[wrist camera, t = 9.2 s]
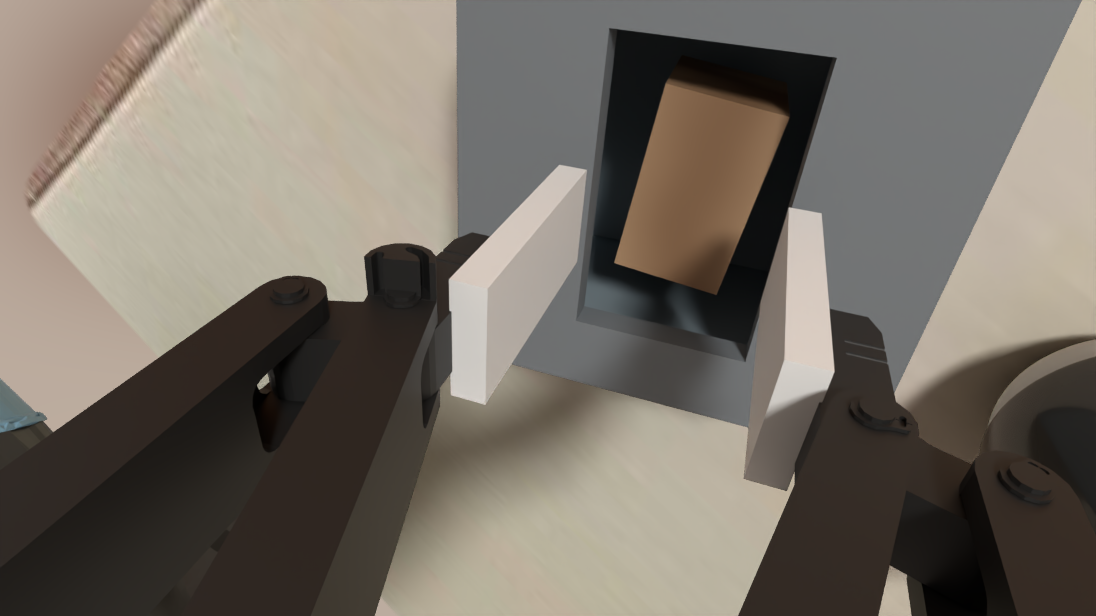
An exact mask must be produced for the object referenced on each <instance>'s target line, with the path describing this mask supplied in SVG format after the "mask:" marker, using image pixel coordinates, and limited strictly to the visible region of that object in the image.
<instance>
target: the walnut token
mask: <svg viewBox="0 0 1096 616" xmlns="http://www.w3.org/2000/svg"><path fill="white" fill-rule="evenodd" d="M789 118H790V114H789V102H788V91H787V83H786V82H782V81H778V80H775V79H771V78H767V77H763V76H760V75H756V74H752V73H748V72H744V71H741V70H737V69H733V68H729V67H725V66H722V65H718V64H714V63H710V62H707V61H703V60H699V59H695V58H691V57H688V56H684V55H682V56H681V57H680V59H679V61H678V63H677V64H676V66H675V68H674V70H673V71H672V73H671V75H670V77H669V79H668V80H667V82H666V84H665V88H664V91H663V95H662V98H661V102H660V105H659V108H658V112H657V115H656V119H655V122H654V126H653V129H652V133H651V136H650V140H649V143H648V147H647V150H646V154H645V157H644V161H643V164H642V168H641V171H640V175H639V178H638V182H637V185H636V189H635V192H634V196H633V199H632V203H631V206H630V209H629V213H628V216H627V220H626V223H625V227H624V230H623V234H622V237H621V241H620V244H619V248H618V251H617V255H616V258H615V262H614V263H616V264H619V265H622V266H625V267H628V268H632V269H635V270H638V271H641V272H644V273H648V274H651V275H654V276H657V277H660V278H664V279H667V280H670V281H673V282H676V283H680V284H683V285H686V286H689V287H692V288H696V289H699V290H702V291H705V292H708V293H711V294H715V295H717V292H718V290H719V287H720V285H721V283H722V280H723V278H724V275H725V273H726V270H727V268H728V266H729V263H730V261H731V258H732V256H733V254H734V251H735V249H736V246H737V244H738V241H739V239H740V237H741V234H742V232H743V229H744V227H745V224H746V222H747V220H748V217H749V215H750V212H751V210H752V208H753V205H754V203H755V200H756V198H757V195H758V193H759V191H760V188H761V186H762V183H763V181H764V178H765V176H766V174H767V171H768V169H769V166H770V164H771V161H772V159H773V157H774V154H775V152H776V149H777V147H778V145H779V142H780V140H781V137H782V135H783V132H784V130H785V128H786V125H787V123H788V120H789Z"/></svg>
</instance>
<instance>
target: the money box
mask: <svg viewBox="0 0 1096 616" xmlns="http://www.w3.org/2000/svg"><path fill="white" fill-rule="evenodd" d="M1081 1H1082V0H456V7H457V137H458V238H459V237H462V236H464V235H467V234H469V233H471V232H473V233H478V234H482V235H487V236H491V235H492V234H493V233H494V232H495V231H496V230H497V229H498V228H499V227H500V226H501V225H502V224H503V223H504V222H505V221H506V220H507V219H508V217H509V216H510V215H511V214H512V213H513V212H514V211H515V210H516V209H517V208H518V207H519V206H520V205H521V204H522V203H523V202H524V201H525V200H526V199H527V198H528V197H529V196H530V195H531V194H532V193H533V192H534V191H535V189H536V188H537V187H538V186H539V185H540V184H541V183H542V182H543V181H544V180H545V179H546V178H547V177H548V176H549V175H550V174H551V173H552V172H553V171H554V170H555V169H556V168H557V167H558V166H559V165H564V166H569V167H574V168H580V169H585V170H587V174H586V184H585V193H584V202H583V212H582V221H581V230H580V239H579V249H578V258H577V263H576V264H575V266H574V267H573V269H572V270H571V272H570V273H569V275H568V277H567V278H566V280H565V281H564V283H563V284H562V286H561V288H560V289H559V291H558V292H557V294H556V295H555V297H554V298H553V300H552V302H551V303H550V305H549V306H548V308H547V309H546V311H545V312H544V314H543V316H542V317H541V319H540V320H539V322H538V323H537V325H536V326H535V328H534V330H533V331H532V333H531V334H530V336H529V337H528V339H527V341H526V342H525V344H524V345H523V347H522V348H521V350H520V351H519V353H518V355H517V356H516V358H515V359H514V361H513V362H512V365H516V366H520V367H524V368H527V369H531V370H535V371H539V372H542V373H546V374H550V375H554V376H557V377H561V378H565V379H569V380H572V381H576V382H580V383H584V384H587V385H591V386H595V387H599V388H602V389H606V390H610V391H614V392H617V393H621V394H625V395H629V396H632V397H636V398H640V399H644V400H647V401H651V402H655V403H659V404H662V405H666V406H670V407H674V408H677V409H681V410H685V411H688V412H692V413H696V414H700V415H703V416H707V417H711V418H715V419H718V420H722V421H726V422H730V423H733V424H737V425H741V426H745V427H748V428H749V418H750V407H751V397H752V387H753V376H754V366H755V355H756V345H757V334H758V324H759V314H760V303H761V299H762V296H763V292H764V289H765V286H766V282H767V279H768V276H769V272H770V269H771V266H772V262H773V259H774V256H775V252H776V249H777V245H778V242H779V239H780V235H781V232H782V229H783V225H784V222H785V219H786V215H787V212H788V209H789V207H790V208H795V209H801V210H806V211H812V212H817V213H822V224H823V237H824V249H825V261H826V273H827V285H828V298H829V309H833V310H838V311H843V312H847V313H852V314H856V315H861V316H865V317H869V319H870V320H871V321H872V322H873V323H874V324H875V326H876V327H877V328H878V329H879V330H880V331H881V333H882V336H883V341H884V346H885V350H884V351H886V356H887V364H888V366H889V371H890V375H891V380H892V385H893V390H894V392H895V390H896V388H897V386H898V384H899V382H900V380H901V378H902V376H903V374H904V372H905V369H906V367H907V365H908V363H909V361H910V359H911V357H912V355H913V353H914V351H915V348H916V346H917V344H918V342H919V340H920V338H921V336H922V334H923V332H924V330H925V328H926V325H927V323H928V321H929V319H930V317H931V315H932V313H933V311H934V309H935V307H936V305H937V302H938V300H939V298H940V296H941V294H942V292H943V290H944V288H945V286H946V284H947V282H948V279H949V277H950V275H951V273H952V271H953V269H954V267H955V265H956V263H957V261H958V258H959V256H960V254H961V252H962V250H963V248H964V246H965V244H966V242H967V240H968V238H969V235H970V233H971V231H972V229H973V227H974V225H975V223H976V221H977V219H978V217H979V215H980V212H981V210H982V208H983V206H984V204H985V202H986V200H987V198H988V196H989V194H990V191H991V189H992V187H993V185H994V183H995V181H996V179H997V177H998V175H999V173H1000V171H1001V168H1002V166H1003V164H1004V162H1005V160H1006V158H1007V156H1008V154H1009V152H1010V150H1011V148H1012V145H1013V143H1014V141H1015V139H1016V137H1017V135H1018V133H1019V131H1020V129H1021V127H1022V124H1023V122H1024V120H1025V118H1026V116H1027V114H1028V112H1029V110H1030V108H1031V106H1032V104H1033V101H1034V99H1035V97H1036V95H1037V93H1038V91H1039V89H1040V87H1041V85H1042V83H1043V81H1044V78H1045V76H1046V74H1047V72H1048V70H1049V68H1050V66H1051V64H1052V62H1053V60H1054V58H1055V55H1056V53H1057V51H1058V49H1059V47H1060V45H1061V43H1062V41H1063V39H1064V37H1065V34H1066V32H1067V30H1068V28H1069V26H1070V24H1071V22H1072V20H1073V18H1074V16H1075V14H1076V11H1077V9H1078V7H1079V5H1080V3H1081ZM682 55H684V56H688V57H691V58H695V59H699V60H703V61H707V62H710V63H714V64H718V65H722V66H725V67H729V68H733V69H737V70H741V71H744V72H748V73H752V74H756V75H760V76H763V77H767V78H771V79H775V80H778V81H782V82H786V83H787V91H788V102H789V114H790V118H789V120H788V123H787V125H786V128H785V130H784V132H783V135H782V137H781V140H780V142H779V145H778V147H777V149H776V152H775V154H774V157H773V159H772V161H771V164H770V166H769V169H768V171H767V174H766V176H765V178H764V181H763V183H762V186H761V188H760V191H759V193H758V195H757V198H756V200H755V203H754V205H753V208H752V210H751V212H750V215H749V217H748V220H747V222H746V224H745V227H744V229H743V232H742V234H741V237H740V239H739V241H738V244H737V246H736V249H735V251H734V254H733V256H732V258H731V261H730V263H729V266H728V268H727V270H726V273H725V275H724V278H723V280H722V283H721V285H720V287H719V290H718V292H717V295H715V294H711V293H708V292H705V291H702V290H699V289H696V288H692V287H689V286H686V285H683V284H680V283H676V282H673V281H670V280H667V279H664V278H660V277H657V276H654V275H651V274H648V273H644V272H641V271H638V270H635V269H632V268H628V267H625V266H622V265H619V264H616V263H614V262H615V258H616V255H617V251H618V248H619V244H620V241H621V237H622V234H623V230H624V227H625V223H626V220H627V216H628V213H629V209H630V206H631V203H632V199H633V196H634V192H635V189H636V185H637V182H638V178H639V175H640V171H641V168H642V164H643V161H644V157H645V154H646V150H647V147H648V143H649V140H650V136H651V133H652V129H653V126H654V122H655V119H656V115H657V112H658V108H659V105H660V102H661V98H662V95H663V91H664V88H665V84H666V82H667V80H668V79H669V77H670V75H671V73H672V71H673V70H674V68H675V66H676V64H677V63H678V61H679V59H680V57H681V56H682Z"/></svg>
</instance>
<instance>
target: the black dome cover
mask: <svg viewBox="0 0 1096 616" xmlns="http://www.w3.org/2000/svg"><path fill="white" fill-rule="evenodd" d="M994 450H999V451H1005V452H1012V453H1016V454H1019V455H1022V456H1024V457H1027V458H1030V459H1033V460H1035V461H1037V462H1039V463H1041V464H1042V465H1044V466H1046V467H1047V468H1049V469H1051V470H1052V471H1054V472H1055V473H1056V474H1057V475H1058V476H1060V477H1061V478H1062V479H1063V480H1064V481H1066V482H1067V483H1068V484H1069V485H1070V487H1071V488H1072V489H1073V491H1074V492H1075V494H1076V495H1077V496H1078V498H1079V500H1080V502H1081V504H1082V506H1083V508H1084V511H1085V513H1086V515H1087V517H1088V519H1089V521H1090V524H1091V526H1092V528H1093V530H1094V532H1095V534H1096V339H1094V340H1090V341H1086V342H1082V343H1078V344H1075V345H1072V346H1069V347H1066V348H1064V349H1061V350H1058V351H1056V352H1054V353H1052V354H1050V355H1048V356H1046V357H1044V358H1042V359H1040V360H1039V361H1037V362H1035V363H1034V364H1032V365H1031V366H1029V367H1028V368H1027V369H1026V370H1024V371H1023V372H1022V373H1021V374H1019V375H1018V376H1017V377H1016V378H1015V379H1014V380H1013V381H1012V382H1011V383H1010V384H1009V386H1008V387H1007V388H1006V389H1005V391H1004V392H1003V393H1002V395H1001V396H1000V398H999V399H998V401H997V403H996V405H995V407H994V409H993V411H992V414H991V417H990V419H989V423H988V427H987V430H986V432H985V434H984V436H983V439H982V442H981V446H980V451H979V455H980V454H982V453H983V452H988V451H994Z"/></svg>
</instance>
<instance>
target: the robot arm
mask: <svg viewBox="0 0 1096 616" xmlns="http://www.w3.org/2000/svg"><path fill="white" fill-rule="evenodd" d="M586 174H587V170H585V169H580V168H574V167H569V166H564V165H559V166H558V167H557V168H556V169H555V170H554V171H553V172H552V173H551V174H550V175H549V176H548V177H547V178H546V179H545V180H544V181H543V182H542V183H541V184H540V185H539V186H538V187H537V188H536V189H535V191H534V192H533V193H532V194H531V195H530V196H529V197H528V198H527V199H526V200H525V201H524V202H523V203H522V204H521V205H520V206H519V207H518V208H517V209H516V210H515V211H514V212H513V213H512V214H511V215H510V216H509V217H508V219H507V220H506V221H505V222H504V223H503V224H502V225H501V226H500V227H499V228H498V229H497V230H496V231H495V232H494V233H493V234H492V235H491V236H487V235H482V234H478V233H473V232H471V233H469V234H467V235H464V236H462V237H459V238H457V239H454V240H453V241H452V242H451V243H450V244H449V245H448V246H447V247H446V248H445V249H444V250H443V252H440V253H439V254H438V255H437V256H435V255H434V254H433V252H432V251H431V250H429V249H427V248H425V247H422V246H419V245H414V244H390V245H384V246H380V247H378V248H376V249H373V250H371V251H370V252H369V253H368V254H366V255H365V256H364V260H365V270H366V280H367V290H368V295H367V297H366V299H365V301H364V302H347V301H328V297H327V290H326V287H325V285H324V284H323V283H322V282H321V281H319V280H316V279H314V278H311V277H303V276H285V277H282V278H279V279H275V280H271V281H269V282H267V283H265V284H263V285H261V286H260V287H258V288H257V289H255V290H254V291H253V292H251V293H250V294H248V295H247V296H245V297H244V298H243V299H241V300H240V301H238V302H237V303H236V304H234V305H233V306H231V307H230V308H228V309H227V310H226V311H224V312H223V313H221V314H220V315H219V316H217V317H216V318H214V319H213V320H212V321H210V322H209V323H207V324H206V325H204V326H203V327H202V328H200V329H199V330H197V331H196V332H195V333H193V334H192V335H190V336H189V337H187V338H186V339H185V340H183V341H182V342H180V343H179V344H178V345H176V346H175V347H173V348H172V349H170V350H169V351H168V352H166V353H165V354H163V355H162V356H161V357H159V358H158V359H157V360H155V361H154V362H152V363H151V364H149V365H148V366H147V367H145V368H144V369H143V370H141V371H139V372H138V373H137V374H135V375H134V376H132V377H131V378H130V379H128V380H127V381H125V382H124V383H122V384H121V385H120V386H118V387H117V388H115V389H114V390H113V391H111V392H110V393H108V394H107V395H105V396H104V397H103V398H101V399H100V400H98V401H97V402H96V403H94V404H93V405H91V406H90V407H88V408H87V409H86V410H84V411H83V412H81V413H80V414H79V415H77V416H76V417H74V418H73V419H72V420H70V421H69V422H67V423H66V424H65V425H63V426H62V427H60V428H59V429H57V430H56V431H55V432H52V431H51V430H50V428H49V427H48V426H47V425H46V424H45V423H44V422H43V421H45V420H47V417H46V416H45V415H44V414H43V413H40V412H35V411H34V410H33V409H32V408H31V407H30V406H29V405H27V404H26V403H25V402H24V401H23V400H22V399H21V398H20V397H19V396H18V395H17V394H16V393H15V392H14V391H13V390H12V389H11V388H10V387H9V386H8V385H6V384H5V383H4V382H3V381H2V380H1V379H0V616H375V613H376V609H377V606H378V603H379V600H380V597H381V593H382V590H383V587H384V584H385V581H386V577H387V574H388V571H389V568H390V565H391V561H392V558H393V555H394V552H395V549H396V545H397V542H398V539H399V536H400V533H401V529H402V526H403V523H404V520H405V516H406V513H407V510H408V507H409V504H410V500H411V497H412V494H413V491H414V488H415V484H416V481H417V478H418V475H419V472H420V468H421V465H422V462H423V459H424V455H425V452H426V449H427V446H428V443H429V439H430V436H431V433H432V430H433V427H434V423H435V420H436V417H437V414H438V411H439V407H440V387H441V385H442V384H443V383H444V381H445V380H446V379H447V377H448V376H449V375H450V377H451V395H452V396H456V397H459V398H463V399H466V400H470V401H473V402H477V403H480V404H484V405H485V404H486V403H487V401H488V400H489V398H490V397H491V395H492V394H493V392H494V390H495V389H496V387H497V386H498V384H499V383H500V381H501V380H502V378H503V376H504V375H505V373H506V372H507V370H508V369H509V367H510V365H511V364H512V362H513V361H514V359H515V358H516V356H517V355H518V353H519V351H520V350H521V348H522V347H523V345H524V344H525V342H526V341H527V339H528V337H529V336H530V334H531V333H532V331H533V330H534V328H535V326H536V325H537V323H538V322H539V320H540V319H541V317H542V316H543V314H544V312H545V311H546V309H547V308H548V306H549V305H550V303H551V302H552V300H553V298H554V297H555V295H556V294H557V292H558V291H559V289H560V288H561V286H562V284H563V283H564V281H565V280H566V278H567V277H568V275H569V273H570V272H571V270H572V269H573V267H574V266H575V264H576V263H577V258H578V249H579V239H580V230H581V221H582V212H583V202H584V193H585V184H586ZM884 350H885V346H884V341H883V336H882V333H881V331H880V330H879V329H878V328H877V327H876V326H875V324H874V323H873V322H872V321H871V320H870V319H869V317H865V316H861V315H856V314H852V313H847V312H843V311H838V310H833V309H829V298H828V285H827V273H826V261H825V249H824V237H823V224H822V213H817V212H812V211H806V210H801V209H795V208H790V207H789V209H788V212H787V215H786V219H785V222H784V225H783V229H782V232H781V235H780V239H779V242H778V245H777V249H776V252H775V256H774V259H773V262H772V266H771V269H770V272H769V276H768V279H767V282H766V286H765V289H764V292H763V296H762V299H761V303H760V314H759V324H758V334H757V345H756V355H755V366H754V376H753V387H752V397H751V407H750V418H749V428H748V439H747V449H746V460H745V470H744V479H746V480H750V481H753V482H757V483H760V484H764V485H767V486H771V487H774V488H778V489H781V490H785V491H787V489H788V487H789V484H790V482H791V479H792V477H793V474H794V472H795V485H794V487H793V490H792V492H791V494H790V497H789V499H788V501H787V504H786V506H785V508H784V511H783V513H782V515H781V518H780V520H779V522H778V525H777V527H776V529H775V532H774V534H773V536H772V539H771V541H770V543H769V546H768V548H767V550H766V552H765V555H764V557H763V559H762V562H761V564H760V566H759V569H758V571H757V573H756V576H755V578H754V580H753V583H752V585H751V587H750V590H749V592H748V594H747V597H746V599H745V601H744V604H743V606H742V608H741V611H740V613H739V615H738V616H878V614H879V610H880V605H881V601H882V596H883V592H884V587H885V583H886V579H887V574H888V570H889V565H891V566H892V567H894V568H896V569H898V570H899V571H901V572H903V573H905V574H907V586H908V593H909V600H910V607H911V614H912V616H1096V534H1095V532H1094V530H1093V528H1092V526H1091V524H1090V521H1089V519H1088V517H1087V515H1086V513H1085V511H1084V508H1083V506H1082V504H1081V502H1080V500H1079V498H1078V496H1077V495H1076V494H1075V492H1074V491H1073V489H1072V488H1071V487H1070V485H1069V484H1068V483H1067V482H1066V481H1064V480H1063V479H1062V478H1061V477H1060V476H1058V475H1057V474H1056V473H1055V472H1054V471H1052V470H1051V469H1049V468H1047V467H1046V466H1044V465H1042V464H1041V463H1039V462H1037V461H1035V460H1033V459H1030V458H1027V457H1024V456H1022V455H1019V454H1016V453H1012V452H1005V451H999V450H994V451H988V452H983V453H982V454H980V455H979V456H978V457H977V458H976V459H975V460H974V462H973V464H972V465H971V464H969V463H967V462H965V461H963V460H960V459H958V458H956V457H954V456H952V455H949V454H947V453H945V452H943V451H941V450H939V449H937V448H935V447H933V446H931V445H929V444H928V443H926V442H925V441H924V440H922V439H921V438H919V437H918V436H919V431H918V424H917V422H916V421H915V419H914V418H913V417H912V415H911V414H910V413H909V412H908V411H907V410H906V409H904V408H903V407H902V406H901V405H899V404H898V403H897V402H896V400H895V395H894V390H893V385H892V380H891V375H890V371H889V366H888V364H887V356H886V351H884ZM267 373H268V376H269V381H270V382H269V383H268V384H267V385H266V386H264V387H263V388H262V389H260V390H259V389H258V387H257V384H258V383H259V382H260V380H261V379H262V378H263V377H264V376H265V375H266V374H267Z"/></svg>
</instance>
